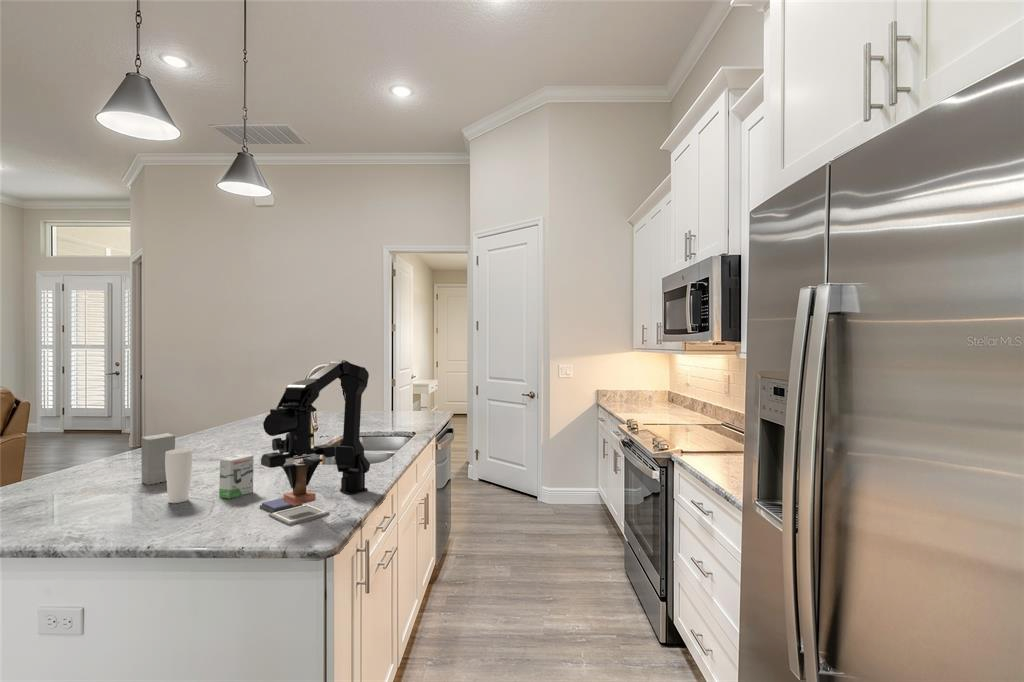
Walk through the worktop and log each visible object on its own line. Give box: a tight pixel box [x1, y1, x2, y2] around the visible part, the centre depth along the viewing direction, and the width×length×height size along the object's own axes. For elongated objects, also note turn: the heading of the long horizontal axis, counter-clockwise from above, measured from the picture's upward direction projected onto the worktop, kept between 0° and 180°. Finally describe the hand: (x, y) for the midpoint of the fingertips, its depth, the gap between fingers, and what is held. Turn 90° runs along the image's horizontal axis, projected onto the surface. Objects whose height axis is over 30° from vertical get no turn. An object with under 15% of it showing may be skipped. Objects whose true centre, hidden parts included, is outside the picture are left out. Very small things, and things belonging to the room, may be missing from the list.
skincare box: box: [140, 432, 176, 486], centre depth 173 cm, size 8×7×16 cm
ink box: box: [218, 453, 254, 500], centre depth 158 cm, size 9×5×12 cm, turn 159°
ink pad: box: [259, 497, 303, 514], centre depth 145 cm, size 8×8×2 cm
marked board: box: [268, 503, 330, 526], centre depth 139 cm, size 11×11×1 cm
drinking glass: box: [165, 448, 193, 504], centre depth 151 cm, size 7×7×15 cm
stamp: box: [283, 464, 317, 506], centre depth 139 cm, size 6×6×10 cm
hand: (299, 486), depth 139 cm, fingers closed on stamp, 3 cm apart
